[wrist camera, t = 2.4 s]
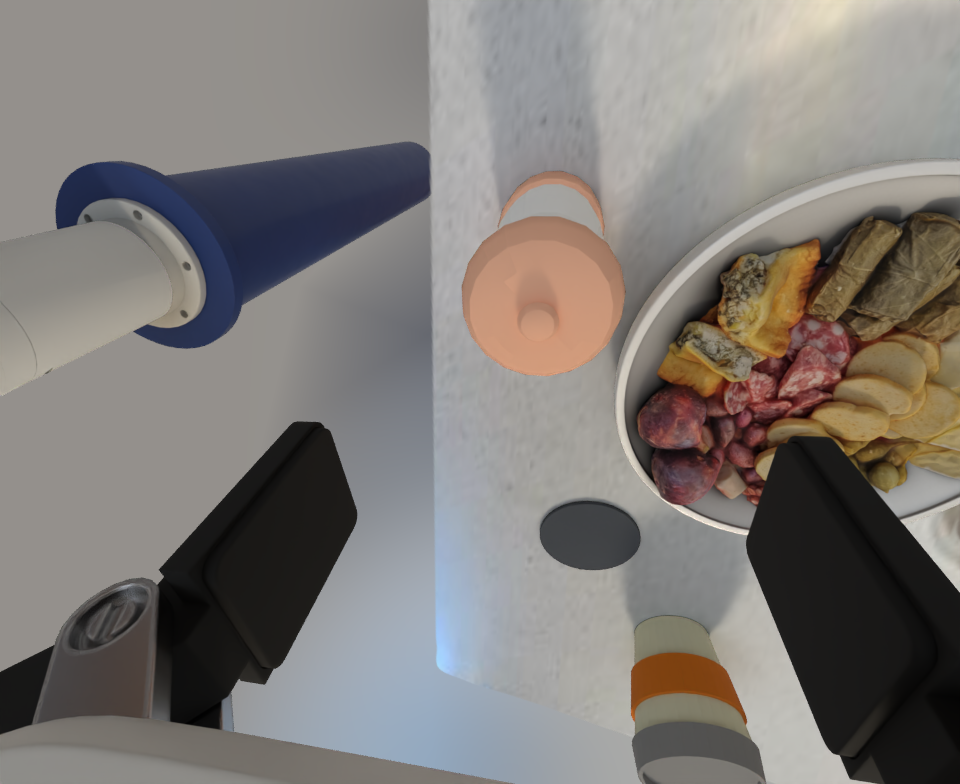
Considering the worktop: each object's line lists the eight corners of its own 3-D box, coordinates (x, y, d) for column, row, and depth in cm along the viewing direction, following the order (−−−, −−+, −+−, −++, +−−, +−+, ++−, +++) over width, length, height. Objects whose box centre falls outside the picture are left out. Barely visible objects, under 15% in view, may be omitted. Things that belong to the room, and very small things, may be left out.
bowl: (955, 24, 24) (1104, -12, 17) (1115, 387, 32) (1256, 456, 26) (538, 346, 38) (533, 393, 31) (724, 539, 46) (750, 609, 40)
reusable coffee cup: (625, 601, 55) (642, 745, 42) (733, 613, 52) (786, 768, 40) (616, 655, 61) (629, 793, 49) (712, 667, 59) (752, 815, 46)
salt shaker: (496, 263, 35) (437, 387, 19) (511, 162, 31) (454, 210, 15) (586, 280, 34) (604, 421, 18) (613, 179, 30) (667, 248, 14)
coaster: (541, 563, 53) (540, 566, 53) (539, 498, 48) (538, 501, 47) (635, 571, 51) (635, 574, 51) (644, 504, 46) (645, 507, 45)
